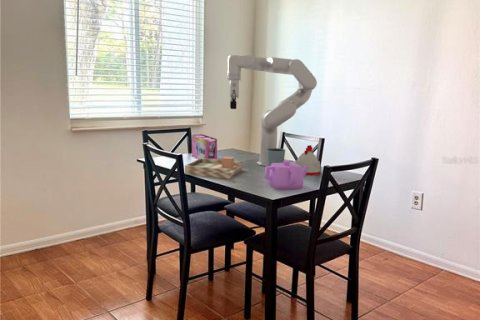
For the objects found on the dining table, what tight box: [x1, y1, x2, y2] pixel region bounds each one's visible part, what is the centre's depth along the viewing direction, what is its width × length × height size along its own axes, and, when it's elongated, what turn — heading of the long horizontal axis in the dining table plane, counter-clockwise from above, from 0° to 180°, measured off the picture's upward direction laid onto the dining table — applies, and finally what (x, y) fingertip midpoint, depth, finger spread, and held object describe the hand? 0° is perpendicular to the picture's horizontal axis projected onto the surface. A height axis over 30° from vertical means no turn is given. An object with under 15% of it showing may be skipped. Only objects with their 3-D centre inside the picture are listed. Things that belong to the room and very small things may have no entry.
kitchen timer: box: [294, 145, 321, 177], centre depth 230 cm, size 14×14×15 cm
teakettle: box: [263, 159, 309, 191], centre depth 199 cm, size 17×17×12 cm
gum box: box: [191, 133, 218, 160], centre depth 259 cm, size 24×8×14 cm, turn 28°
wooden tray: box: [184, 158, 243, 179], centre depth 224 cm, size 24×22×4 cm
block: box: [221, 156, 235, 168], centre depth 226 cm, size 5×5×5 cm
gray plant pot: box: [267, 147, 286, 166], centre depth 231 cm, size 10×10×12 cm
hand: (233, 108), depth 242 cm, fingers open, 9 cm apart
